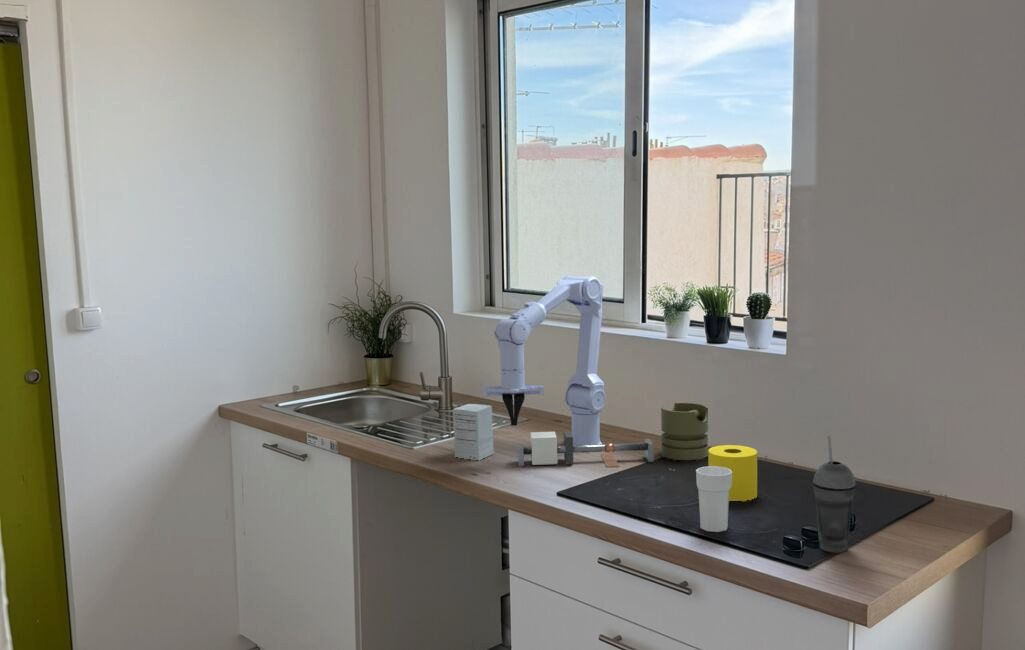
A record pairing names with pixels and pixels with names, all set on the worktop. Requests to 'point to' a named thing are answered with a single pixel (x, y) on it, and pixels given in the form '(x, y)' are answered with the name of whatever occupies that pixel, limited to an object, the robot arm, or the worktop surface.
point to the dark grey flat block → (568, 447)
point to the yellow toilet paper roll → (737, 469)
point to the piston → (685, 431)
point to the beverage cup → (833, 503)
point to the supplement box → (473, 431)
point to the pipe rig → (606, 447)
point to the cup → (714, 497)
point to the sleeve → (543, 448)
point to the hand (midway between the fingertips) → (514, 424)
